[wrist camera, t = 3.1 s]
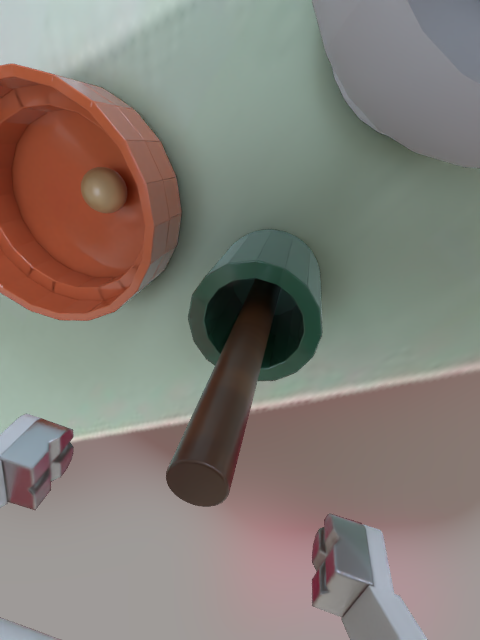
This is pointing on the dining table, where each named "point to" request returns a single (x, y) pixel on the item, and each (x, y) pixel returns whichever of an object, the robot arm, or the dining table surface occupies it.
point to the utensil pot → (291, 310)
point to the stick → (224, 406)
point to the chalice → (410, 70)
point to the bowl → (78, 197)
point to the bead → (104, 190)
